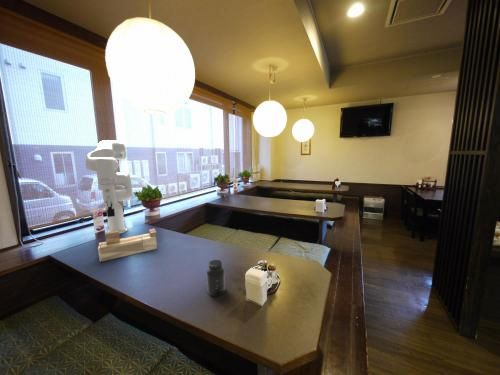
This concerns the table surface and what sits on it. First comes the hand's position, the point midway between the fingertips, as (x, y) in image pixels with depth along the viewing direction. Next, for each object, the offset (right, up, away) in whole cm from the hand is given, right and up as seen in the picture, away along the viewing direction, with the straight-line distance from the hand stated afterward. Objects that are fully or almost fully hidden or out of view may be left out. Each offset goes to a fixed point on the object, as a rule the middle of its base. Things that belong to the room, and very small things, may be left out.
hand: (111, 216), depth 108 cm
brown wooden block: (+16, -13, +12) cm, 24 cm away
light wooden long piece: (+6, -21, +7) cm, 23 cm away
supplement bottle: (+61, -26, -28) cm, 72 cm away
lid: (+3, -16, +4) cm, 16 cm away
